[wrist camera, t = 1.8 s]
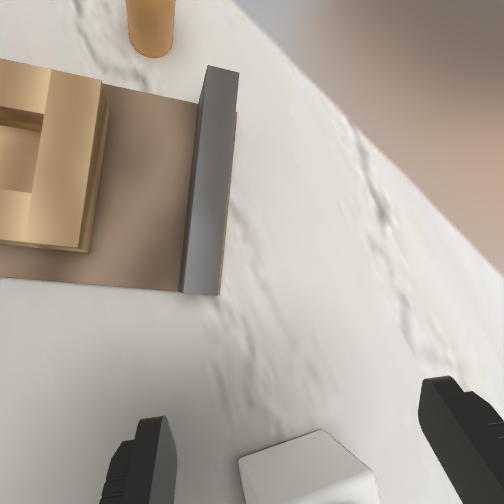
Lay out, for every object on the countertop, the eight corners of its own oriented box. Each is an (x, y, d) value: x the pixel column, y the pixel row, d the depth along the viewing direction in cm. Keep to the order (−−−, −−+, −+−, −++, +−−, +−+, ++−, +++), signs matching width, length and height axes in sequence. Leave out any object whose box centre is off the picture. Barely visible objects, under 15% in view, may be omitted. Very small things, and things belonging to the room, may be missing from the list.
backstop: (-104, 267, 22) (-192, 261, 17) (-62, 56, 24) (-129, -16, 18) (217, 294, 27) (234, 297, 22) (234, 118, 29) (254, 76, 23)
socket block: (-91, 235, 22) (-143, 223, 18) (-60, 78, 23) (-102, 36, 19) (89, 253, 24) (77, 247, 20) (109, 111, 25) (101, 80, 22)
